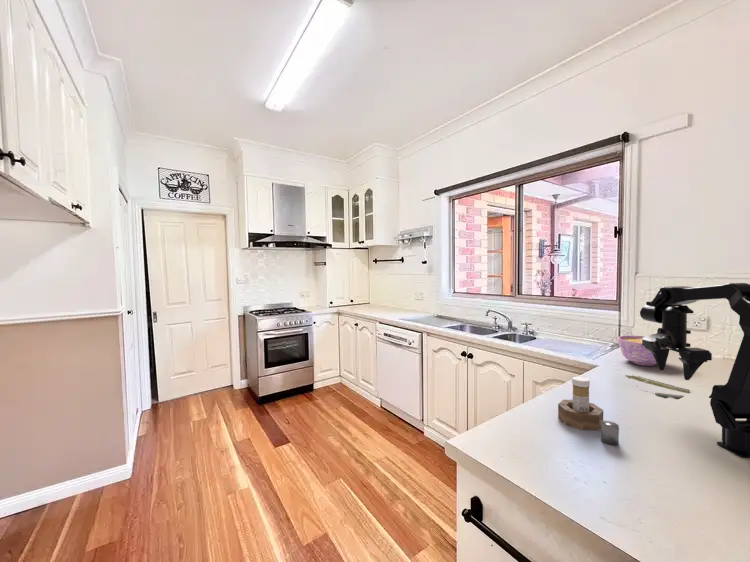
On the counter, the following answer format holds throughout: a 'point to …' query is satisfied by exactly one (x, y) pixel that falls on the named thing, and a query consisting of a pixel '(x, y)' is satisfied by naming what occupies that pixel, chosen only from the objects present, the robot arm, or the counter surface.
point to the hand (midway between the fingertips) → (673, 374)
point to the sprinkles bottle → (581, 394)
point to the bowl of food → (636, 350)
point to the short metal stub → (610, 433)
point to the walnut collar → (580, 416)
